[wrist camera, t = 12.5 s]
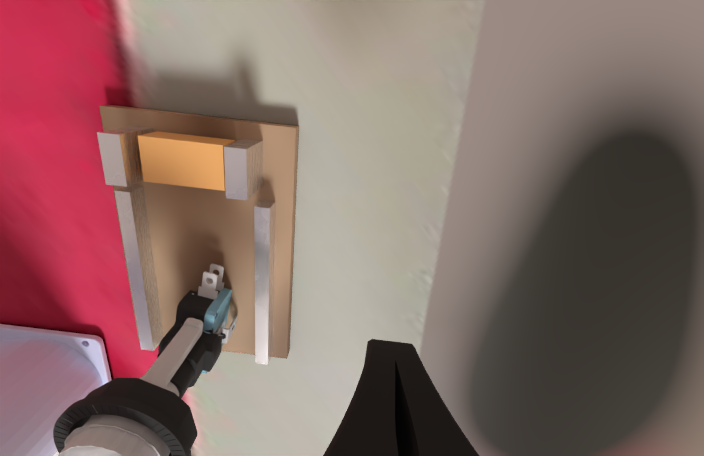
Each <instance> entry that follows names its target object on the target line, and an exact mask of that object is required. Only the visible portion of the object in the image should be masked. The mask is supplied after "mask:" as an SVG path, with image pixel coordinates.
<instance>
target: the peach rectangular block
mask: <svg viewBox="0 0 704 456" xmlns="http://www.w3.org/2000/svg"><path fill="white" fill-rule="evenodd" d="M234 142H235V140H230V139H221V138H212V137H203V136H194V135H186V134H177V133H168V132H159V131H156V132H152V133H147V134H143V135H138V143H139V150H140V158H141V165H142V173H143V180H144V182H153V183H161V184H170V185H179V186H187V187H196V188H205V189H213V190H222V191H225V190H226V188H225V163H224V146H227V145H229V144H231V143H234Z"/></svg>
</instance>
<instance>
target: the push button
mask: <svg viewBox="0 0 704 456" xmlns="http://www.w3.org/2000/svg"><path fill="white" fill-rule="evenodd" d="M213 270H218V271H219V273H220V274H219V275H217V274H214V273H213ZM223 272H224V267H223V266H220V265H216V264H211V265H210V271H209V272H206V271H205V272H204V273H203V279H202V286H201V287H200V286H199V289H198V290H197V291H193V290H190V291H189V292H188V293H187V294H186V295H185V296H184V297H183V299H182V300H181V301H180V302H179V304H178V306H177V312H176V321H175V324H174V326H173V327H172V328H171V329H170V330H169V331H168V333H167V334H166V335H165V336H164V337H163V339H162V340H161V342H160V344H159V349H158V350H159V354H158V358H157V360H156V361H155V362H154V364H153V365H152V366H151V367H150V369H149V370H148V371H147V373H146V374H145V375H144V376H142V377H141V378H115V379H113V380H111V381H109V382H107V383H106V384H104V385H102V386H100V387H98V388H96V389H95V390H93V391H91V392H90V393H89V394H88V395H87V396H86V397H85V398H84V399H81V400H79V401H77V402H75V403H73V404H72V405H70V406H69V407H68V408H67V409H66V410H65V411H64V412H63V413H62V414H61V416H60V417H59V418H58V419H57V421H56V423H55V425H54V429H53V439H54V443H55V446H56V448H57V450H58V452H59V455H58V456H191V450H190V449H191V447H192V445H193V443H194V441H195V439H196V437H197V430H196V426H195V423H194V420H193V416H192V413H191V410H190V407H189V406H188V405H187V404H186V403H185V402H184V401H183V400H182V399H181V398H182V397H183V395H184V393H185V392H186V390H187V388H188V387H192V386H194V384H195V383H196V381H197V379H198V378H199V376H200V374H201V373H205V374H206V373H207V372H209V371H210V370H211V369H212V367H213V366H214V364H215V362H216V361H217V359H218V357H219V355H220V353H221V349H222V346H223V343H225V344H226V343H227V342H228V340H229V339H230V337H231V335H232V333H233V331H234V330H235V327H236V322H237V316H235V318H234V320H233V321H232V323H231V325H230V328H228V329H226V323H227V317H228V311H229V305H230V300H231V294H232V290H231V289H227V288H224V283H223V282H222V278H223Z"/></svg>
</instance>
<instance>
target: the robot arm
mask: <svg viewBox="0 0 704 456" xmlns="http://www.w3.org/2000/svg"><path fill="white" fill-rule="evenodd" d="M111 380H112V379H111V374H110V370H109V365H108V361H107V356H106V352H105V347H104V343H103V340H102V338H101V337H99V336H96V335H89V334H80V333H72V332H63V331H55V330H47V329H38V328H30V327H21V326H13V325H5V324H0V456H53V455H54V454H55V453H56V452H57V448H56V446H55V443H54V439H53V429H54V425H55V423H56V421H57V419H58V418H59V417H60V416H61V414H62V413H63V412H64V411H65V410H66V409H67V408H68V407H69V406H70V405H72V404H73V403H75V402H77V401H79V400H81V399H84V398H85V397H86V396H87V395H88V394H89V393H90V392H91V391H93V390H95V389H96V388H98V387H100V386H102V385H104V384H106V383H107V382H109V381H111ZM323 456H479V455H478V454H477V452H476V451H475V450H474V448H473V446H472V445H471V444H470V442H469V441H468V439H467V438H466V436H465V435H464V433H463V432H462V430H461V429H460V427H459V426H458V424H457V423H456V421H455V420H454V418H453V417H452V415H451V413H450V412H449V410H448V409H447V407H446V405H445V404H444V402H443V400H442V399H441V397H440V395H439V393H438V392H437V390H436V389H435V387H434V385H433V383H432V381H431V379H430V377H429V375H428V374H427V372H426V370H425V368H424V366H423V364H422V362H421V360H420V358H419V356H418V354H417V352H416V349H415V347H414V346H413V345H412V344H408V343H400V342H392V341H383V340H375V339H372V340H370V341H368V344H367V351H366V357H365V364H364V368H363V371H362V374H361V377H360V380H359V383H358V385H357V388H356V391H355V393H354V396H353V398H352V400H351V402H350V405H349V407H348V409H347V411H346V413H345V416H344V418H343V420H342V422H341V424H340V426H339V428H338V430H337V432H336V434H335V436H334V437H333V439H332V441H331V443H330V445H329V447H328V448H327V450H326V452H325V454H324V455H323Z"/></svg>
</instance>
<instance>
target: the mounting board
mask: <svg viewBox="0 0 704 456" xmlns="http://www.w3.org/2000/svg"><path fill="white" fill-rule="evenodd" d="M99 107H100V113H101V119H102V125H103V131H107V130H112V129H118V128H124V127H129V126H141V127H150V128H153V132H156V131H159V132H168V133H177V134H186V135H194V136H203V137H212V138H221V139H230V140H235V142H236V141H238V140H241V139H243V138H247V139H255V140H263V186H262V187H261V188H260V189H259V190H258V191H257V192H256V193H255V194H254V195H252V196H251V197H250V198H249V199H248V200H247V201H246V200H237V199H229V198H226V190H225V191H222V190H213V189H205V188H196V187H187V186H179V185H170V184H161V183H153V182H144V180H142V181H140V182H137V183H135V184H132V185H139V186H144V192H145V199H146V207H147V214H148V222H149V229H150V237H151V244H152V252H153V259H154V267H155V274H156V282H157V289H158V297H159V304H160V312H161V319H162V327H163V334H164V336H165V335H166V334H167V333H168V331H169V330H170V329H171V328H172V327H173V326H174V324H175V321H176V312H177V306H178V304H179V302H180V301H181V300H182V299H183V297H184V296H185V295H186V294H187V293H188V292H189V291H190V290H193V291H197V290H198V289H199V286H200V287H201V286H202V279H203V273H204V272H205V271H206V272H209V271H210V265H211V264H216V265H220V266H223V267H224V272H223V278H222V282H223V283H224V288H227V289H231V290H232V294H231V300H230V305H229V311H228V317H227V323H226V329H228V328H230V325H231V323H232V321H233V320H234V318H235V316H237V322H236V327H235V330H234V331H233V333H232V335H231V337H230V339H229V340H228V342H227V343H226V344H225V343H223V346H222V349H221V351H228V352H236V353H244V354H253V355H255V237H254V206H255V205H256V204H257V203H258V202H259V201H260V200H270V201H276V209H275V263H274V316H273V352H272V355H271V357H278V358H286V359H287V356H288V353H289V349H290V325H291V301H292V278H293V254H294V230H295V207H296V183H297V159H298V135H299V126H294V125H285V124H276V123H267V122H258V121H249V120H240V119H232V118H223V117H214V116H205V115H196V114H187V113H178V112H170V111H161V110H152V109H143V108H134V107H125V106H117V105H102V106H99ZM122 187H124V186H116V185H113V190H117V189H119V188H122ZM114 196H115V191H114ZM115 202H116V197H115ZM116 208H117V203H116ZM117 214H118V209H117ZM118 219H119V215H118ZM119 225H120V221H119ZM120 231H121V227H120ZM121 237H122V233H121ZM122 243H123V239H122ZM123 249H124V245H123ZM124 255H125V251H124ZM125 261H126V257H125ZM126 267H127V262H126ZM127 273H128V268H127ZM213 273H214V274H217V275H219V274H220V273H219V271H218V270H213ZM128 279H129V274H128ZM129 284H130V280H129ZM130 290H131V286H130ZM131 296H132V292H131ZM132 302H133V298H132ZM133 308H134V304H133ZM134 314H135V310H134ZM135 320H136V316H135ZM136 326H137V322H136ZM137 332H138V328H137ZM138 338H139V334H138ZM139 341H140V340H139Z"/></svg>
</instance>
